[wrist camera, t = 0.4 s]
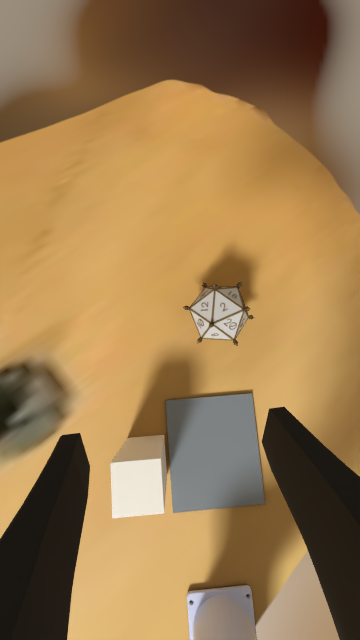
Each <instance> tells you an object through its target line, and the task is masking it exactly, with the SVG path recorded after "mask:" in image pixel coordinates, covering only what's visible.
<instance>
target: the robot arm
mask: <svg viewBox="0 0 360 640" xmlns="http://www.w3.org/2000/svg"><path fill="white" fill-rule="evenodd" d="M262 444H263V447H264V450H265V453H266V456H267V459H268V462H269V465H270V467H271V470H272V472H273V474H274V477H275V479H276V481H277V483H278V485H279V487H280V490H281V492H282V494H283V496H284V498H285V500H286V502H287V504H288V507H289V509H290V511H291V513H292V515H293V517H294V519H295V521H296V524H297V526H298V528H299V530H300V532H301V534H302V537H303V539H304V541H305V544H306V546H307V549H308V551H309V554H310V557H311V559H312V562H313V565H314V567H315V570H316V573H317V575H318V578H319V581H320V584H321V586H322V589H323V592H324V595H325V598H326V601H327V603H328V606H329V609H330V612H331V615H332V617H333V620H334V624H335V626H336V630H337V632H338V636H339V639H340V640H360V477H359V476H358V475H357V474H356V473H354V472H353V471H352V470H351V469H350V468H349V467H347V466H346V465H345V464H344V463H343V462H342V461H341V460H339V459H338V458H337V457H336V456H335V455H334V454H333V453H332V452H331V451H330V450H329V449H327V448H326V447H325V446H324V445H323V444H322V443H321V442H320V441H319V440H318V439H317V438H316V437H315V436H314V435H313V434H312V433H310V432H309V431H308V430H307V429H306V428H305V427H304V426H303V425H302V424H301V423H300V422H299V421H298V420H297V419H296V418H295V417H294V416H293V415H292V414H291V413H290V412H289V411H288V410H287V409H286V408H285V407H279V408H272V409H269V412H268V417H267V421H266V426H265V430H264V434H263V439H262ZM89 473H90V465H89V462H88V458H87V455H86V452H85V448H84V445H83V442H82V438H81V435H80V433H76V434H68V435H62V436H61V437H60V438H59V440H58V442H57V444H56V446H55V448H54V450H53V452H52V454H51V456H50V458H49V460H48V461H47V463H46V465H45V467H44V469H43V470H42V472H41V474H40V476H39V478H38V479H37V481H36V483H35V484H34V486H33V488H32V489H31V491H30V493H29V495H28V496H27V498H26V500H25V501H24V503H23V505H22V506H21V508H20V509H19V511H18V512H17V514H16V516H15V517H14V519H13V520H12V522H11V523H10V525H9V526H8V528H7V529H6V531H5V533H4V534H3V536H2V537H1V539H0V640H67V633H68V623H69V613H70V603H71V593H72V586H73V579H74V572H75V567H76V561H77V555H78V550H79V544H80V538H81V533H82V527H83V521H84V516H85V510H86V504H87V498H88V487H89ZM247 594H249V596H246V595H247ZM190 600H192V601H193V602H190ZM187 605H188V619H189V634H190V640H257V637H256V629H255V619H254V610H253V600H252V591H251V588H250V586H248V585H242V586H233V587H223V588H214V589H205V590H195V591H189V592H188V593H187Z"/></svg>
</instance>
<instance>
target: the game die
mask: <svg viewBox="0 0 360 640" xmlns="http://www.w3.org/2000/svg"><path fill="white" fill-rule="evenodd" d="M241 284H242V282H239V283H238V284H237V286H236V287H216V286H217V285H215V284H213V285H212V287H207V285H206V283H204V282H203V285H202V286H203V287H204V290H203V291H202V292H201V294H200V295H199V296H198V297H197V299H196V300H195V301H194V302H193V304H192V305H191V306H190V307H188V306H185V307H183V308H184V309H185V310H190V313H191V315H192V317H193V320H194V322H195V325H196V327H197V330H198V332H199V335H200V338H199V339H198V343H200V342H201V341H202V339H218V340H233V343H234V345H236V346H238V342H237V341H236V340H235V339H236V337H237V335H238V334H239V332H240V331H241V329H242V327H243V326H244V324H245V322H246V321H247V319H248V318H249V319H251V320H252V319H253V318H254V317H253V316H252V315H250V316H248V313H247V311H249V310H250V308H249V307H245V304H244V302H243V299H242V296H241V293H240V291H239V287H241ZM198 343H197V344H198Z"/></svg>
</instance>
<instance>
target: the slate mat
mask: <svg viewBox="0 0 360 640" xmlns="http://www.w3.org/2000/svg"><path fill="white" fill-rule="evenodd" d="M166 414H167V429H168V444H169V459H170V474H171V489H172V504H173V513H177V512H187V511H198V510H208V509H218V508H229V507H239V506H249V505H260V504H265V498H264V490H263V482H262V473H261V465H260V456H259V448H258V439H257V431H256V422H255V414H254V405H253V397H252V393H247V394H235V395H223V396H211V397H199V398H187V399H174V400H166Z"/></svg>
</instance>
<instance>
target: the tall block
mask: <svg viewBox="0 0 360 640" xmlns="http://www.w3.org/2000/svg"><path fill="white" fill-rule="evenodd" d="M166 480H167V469H166V453H165V438H164V435H155V436H143V437H132V438H127V439H126V441H125V442H124V444H123V445H122V447H121V448H120V450H119V451H118V453H117V454H116V456H115V457H114V459H113V460H112V462H111V489H112V518H121V517H131V516H142V515H152V514H162V513H164V509H165V494H166Z"/></svg>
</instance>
